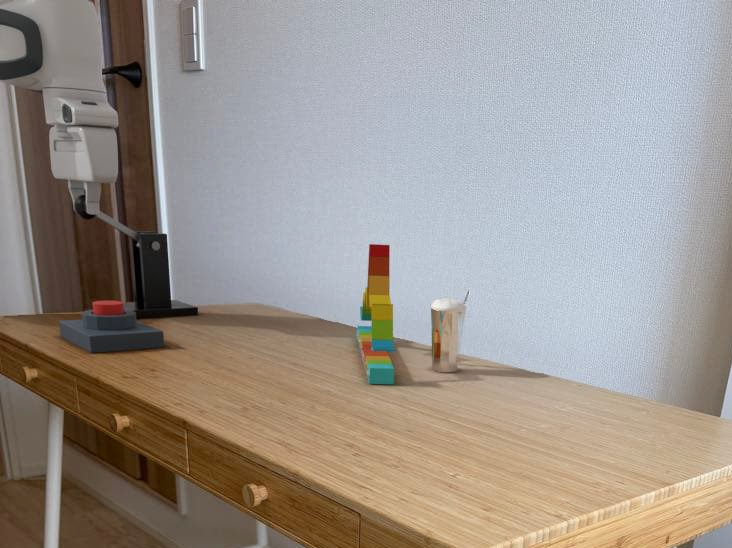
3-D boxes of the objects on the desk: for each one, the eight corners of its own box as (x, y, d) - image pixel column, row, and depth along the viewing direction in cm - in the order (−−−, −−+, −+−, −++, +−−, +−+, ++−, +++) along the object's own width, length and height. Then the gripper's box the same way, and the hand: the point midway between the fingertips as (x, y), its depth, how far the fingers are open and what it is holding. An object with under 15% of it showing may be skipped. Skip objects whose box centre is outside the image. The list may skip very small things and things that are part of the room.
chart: (355, 338, 127) (357, 234, 121) (376, 338, 128) (379, 235, 122) (367, 384, 100) (371, 252, 94) (393, 384, 100) (399, 253, 94)
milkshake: (473, 371, 109) (479, 293, 105) (439, 374, 106) (443, 294, 102) (454, 365, 112) (460, 288, 108) (420, 367, 110) (425, 289, 106)
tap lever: (74, 212, 126) (84, 190, 126) (67, 210, 129) (76, 189, 128) (155, 259, 136) (165, 239, 136) (147, 257, 139) (156, 237, 138)
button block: (60, 336, 118) (57, 307, 116) (129, 331, 124) (127, 304, 122) (91, 353, 109) (88, 322, 107) (164, 347, 114) (162, 317, 113)
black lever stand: (128, 319, 134) (121, 234, 129) (109, 311, 140) (101, 230, 135) (198, 315, 141) (194, 234, 136) (176, 307, 147) (171, 230, 142)
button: (89, 314, 115) (88, 301, 114) (118, 312, 117) (117, 299, 117) (99, 318, 112) (98, 305, 111) (128, 316, 114) (127, 303, 114)
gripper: (34, 113, 129) (45, 209, 134) (77, 109, 114) (87, 217, 120) (76, 116, 133) (85, 209, 138) (122, 113, 118) (130, 217, 123)
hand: (86, 213), depth 129 cm, fingers open, 4 cm apart
